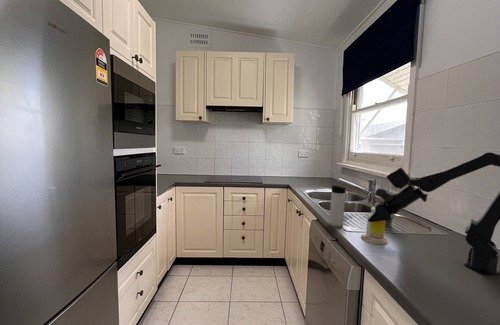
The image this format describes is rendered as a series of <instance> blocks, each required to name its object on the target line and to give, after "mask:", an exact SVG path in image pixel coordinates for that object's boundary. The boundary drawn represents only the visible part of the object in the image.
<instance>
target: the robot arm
mask: <svg viewBox="0 0 500 325" xmlns="http://www.w3.org/2000/svg"><path fill="white" fill-rule="evenodd" d="M488 166H495V167H500V154H496V153H494V152H488V151H487V152H485V153H483V154H481V155H479V156H477V157H475V158H472V159H469V160H466V161H465V162H462V163H460V164H458V165H456V166H452V167H451V168H447V169H445V170H443V171H439V172H438V171H437V172H434V173H429V174H427V175H424V176H421V177H411V176H410V175H408V173H407V172H406V170H405V168H403V167H399V168H398V169H396V170H395V171H393V172H390V173H389V174H388V175H387V176H385V178H386V179H387V180H388V182H389V183H390V184H391V186H393V187H394V188H395V189H399V190H401V191H399V192H396V193H394V192H392V191H390V190H389V191H388V189H387V188H385V187H383V186H380V187H378V189H377V190H375V193H374V195H375V196H377V197H378V198H380V199H381V198H382V199H384V200H385V201H384V203H380V202H379V204H377V205H376V206H374V207H375V213H374V214H373V215H372V216H371V217H370V218H369V219H368V218H367V220H368V221H369V222H375V221H384V220H385V221H387V220H388V219H390V218H391V217H393V218H394V215H395V214H397V213H398V212H400V211H402V210H404V209H406V208H407V207H409V206H410V205H411V204H413V203H415V202H416V201H418V200H419V199H421V200H422V201H423V202H424V203H426V202H427V201H428V196H429V194H428V193H431V192H434V191H435V190H437V189H438V188H441V187H443V185H445V184H447V183H449V182H451V181H452V180H455V179H457V178H459V177H463V176H465V175H467V174H470V173H473V172H475V171H477V170H480V169H483V168H485V167H488ZM403 188H404V189H403ZM424 192H425V193H424ZM393 214H394V215H393ZM499 221H500V190H499V191H498V193H497V194H496V195H495V197H494V199H493V200H492V201H491V203H490V204H489V206H488V207H487V209H486V210H485V212H484V213H483V215H482V216H481V217H480V218H479V219H478V220H477V221H476V220H475V219H473V218H472V219H470V222H469V224H468V225H467V226H466V227H465V228H464V234H465V241H466V243H467V244H468V245H469V246H470V248H469V249H470V250H469V251H468V255H467V256H468V258H467V262H466V263H463V264H464V266H466V267H467V268H470V269H472V270H473V271H475V272H477V273H479V274H481V275H500V271H498V270H497V269H498V262H499V255H498V254H499V252H498V247H497V244H496V243H495V242H494V241H493V240H492V238H493V235H494V231H495V229H496V226H497V225H498V223H499Z"/></svg>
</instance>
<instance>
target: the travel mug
mask: <svg viewBox="0 0 500 325" xmlns="http://www.w3.org/2000/svg"><path fill="white" fill-rule="evenodd" d="M345 203H346V187H343V186H339V185H334V184H332V186H331V194H330V210H329V224H328V225H329V226H330V227H331V228H337V229H339V228H343V226H344V215H345V205H346V204H345Z"/></svg>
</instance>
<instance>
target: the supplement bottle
mask: <svg viewBox="0 0 500 325" xmlns="http://www.w3.org/2000/svg"><path fill="white" fill-rule="evenodd" d="M375 207H376V206H373V207H371V208H370V211H371V212H370V213H368V214H367V223H366V230H365V231H366V233H365V234H366V236H367V238H369V239H371V240H375V241H382V240H383V239H384V238H385V228H386V226H385V220H384V221H375V222H369V221H368V219H369V218H370V217H371V216H372V215H373V214H374V213H375Z"/></svg>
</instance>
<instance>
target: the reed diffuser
mask: <svg viewBox="0 0 500 325" xmlns="http://www.w3.org/2000/svg"><path fill="white" fill-rule="evenodd" d="M387 188H388V189H387V190H388V191H390V185H388V186H387ZM384 201H385V200H384V199H382V198H381V197H380V201H379V204H380V203H384ZM394 215H395V214H393V217H391V218H390V219H388V220H387V221H385V227H387V228H389V227H392V224H393V218H394Z"/></svg>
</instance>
